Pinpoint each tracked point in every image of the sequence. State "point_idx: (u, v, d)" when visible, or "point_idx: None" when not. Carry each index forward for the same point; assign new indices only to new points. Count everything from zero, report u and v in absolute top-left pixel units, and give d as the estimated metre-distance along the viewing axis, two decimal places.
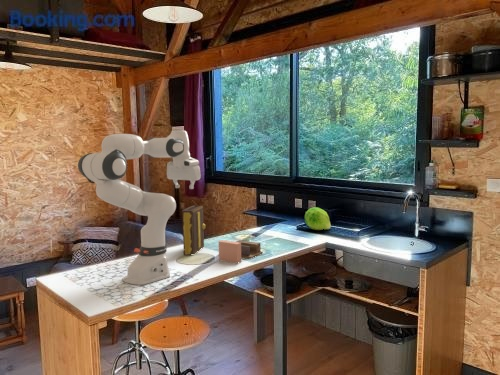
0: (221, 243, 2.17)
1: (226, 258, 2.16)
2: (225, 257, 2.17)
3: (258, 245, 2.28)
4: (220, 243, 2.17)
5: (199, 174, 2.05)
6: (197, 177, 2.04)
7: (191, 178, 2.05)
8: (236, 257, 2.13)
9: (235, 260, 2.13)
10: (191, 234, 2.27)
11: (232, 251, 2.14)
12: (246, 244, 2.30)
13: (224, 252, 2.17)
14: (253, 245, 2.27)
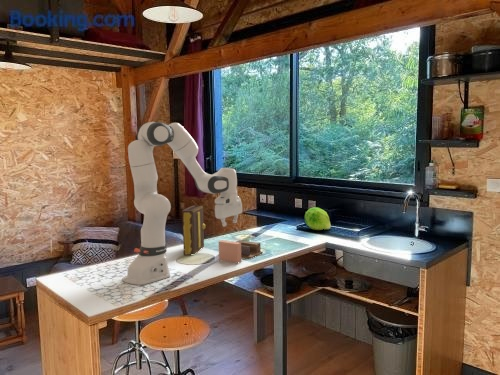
0: (221, 243, 2.17)
1: (226, 258, 2.16)
2: (225, 257, 2.17)
3: (258, 245, 2.28)
4: (220, 243, 2.17)
5: (219, 214, 2.06)
6: (216, 215, 2.07)
7: None
8: (236, 257, 2.13)
9: (235, 260, 2.13)
10: (191, 234, 2.27)
11: (232, 251, 2.14)
12: (246, 244, 2.30)
13: (224, 252, 2.17)
14: (253, 245, 2.27)
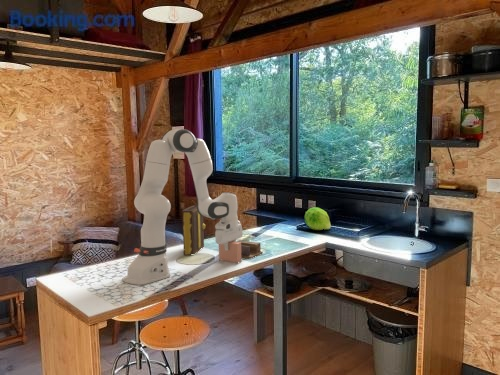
0: None
1: (226, 258, 2.16)
2: (225, 257, 2.17)
3: (258, 245, 2.28)
4: None
5: (219, 239, 2.07)
6: (216, 241, 2.08)
7: None
8: (236, 257, 2.13)
9: (235, 260, 2.13)
10: (191, 234, 2.27)
11: (232, 251, 2.14)
12: (246, 244, 2.30)
13: (224, 252, 2.17)
14: (253, 245, 2.27)
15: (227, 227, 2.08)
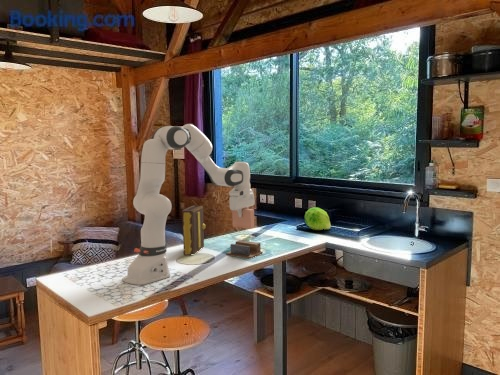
0: (235, 210, 2.26)
1: (239, 224, 2.26)
2: (238, 223, 2.26)
3: (258, 245, 2.28)
4: (234, 210, 2.26)
5: (233, 205, 2.16)
6: (230, 207, 2.17)
7: None
8: (250, 223, 2.22)
9: (248, 226, 2.22)
10: (191, 234, 2.27)
11: (246, 217, 2.23)
12: (246, 244, 2.30)
13: (238, 219, 2.26)
14: (253, 245, 2.27)
15: (241, 194, 2.17)
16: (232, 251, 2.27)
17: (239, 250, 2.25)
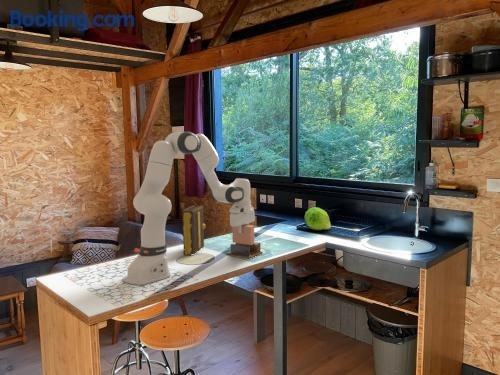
0: None
1: (239, 240, 2.27)
2: (238, 240, 2.27)
3: (258, 245, 2.28)
4: None
5: (233, 222, 2.17)
6: (231, 224, 2.18)
7: None
8: (250, 239, 2.23)
9: (248, 242, 2.23)
10: (191, 234, 2.27)
11: (246, 234, 2.24)
12: None
13: (238, 235, 2.27)
14: (253, 245, 2.27)
15: (241, 211, 2.18)
16: (232, 251, 2.27)
17: (239, 250, 2.25)
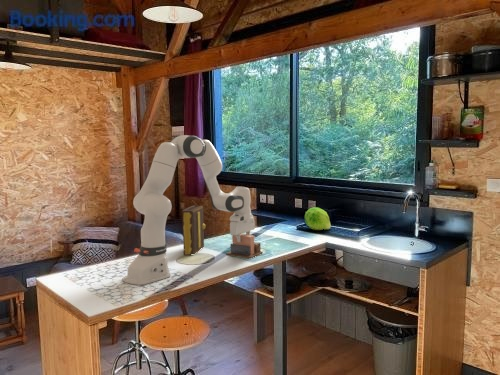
0: (235, 236, 2.28)
1: None
2: None
3: (258, 245, 2.28)
4: (234, 236, 2.28)
5: (233, 231, 2.18)
6: (231, 232, 2.19)
7: None
8: (250, 249, 2.23)
9: None
10: (191, 234, 2.27)
11: (246, 244, 2.24)
12: None
13: None
14: None
15: (241, 219, 2.19)
16: (232, 251, 2.27)
17: (239, 250, 2.25)
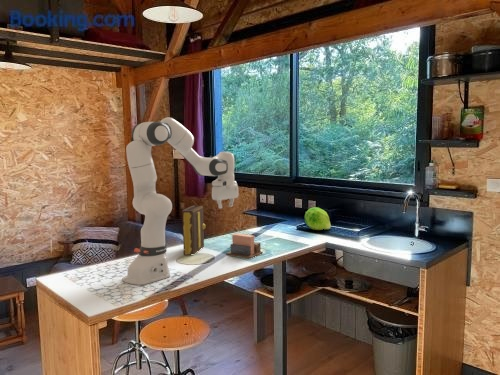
0: (235, 236, 2.28)
1: None
2: None
3: (258, 245, 2.28)
4: (234, 236, 2.28)
5: (215, 195, 2.13)
6: (213, 197, 2.14)
7: None
8: (250, 249, 2.23)
9: None
10: (191, 234, 2.27)
11: (246, 244, 2.24)
12: None
13: None
14: None
15: (223, 184, 2.14)
16: (232, 251, 2.27)
17: (239, 250, 2.25)
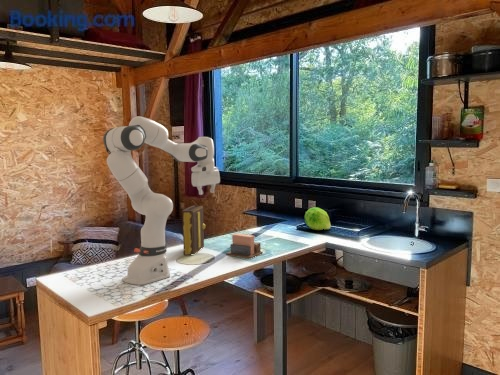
0: (235, 236, 2.28)
1: None
2: None
3: (258, 245, 2.28)
4: (234, 236, 2.28)
5: (195, 181, 2.09)
6: (192, 183, 2.10)
7: None
8: (250, 249, 2.23)
9: None
10: (191, 234, 2.27)
11: (246, 244, 2.24)
12: None
13: None
14: None
15: (203, 169, 2.10)
16: (232, 251, 2.27)
17: (239, 250, 2.25)
